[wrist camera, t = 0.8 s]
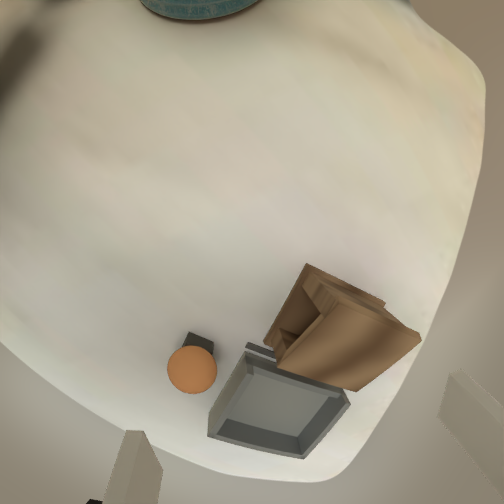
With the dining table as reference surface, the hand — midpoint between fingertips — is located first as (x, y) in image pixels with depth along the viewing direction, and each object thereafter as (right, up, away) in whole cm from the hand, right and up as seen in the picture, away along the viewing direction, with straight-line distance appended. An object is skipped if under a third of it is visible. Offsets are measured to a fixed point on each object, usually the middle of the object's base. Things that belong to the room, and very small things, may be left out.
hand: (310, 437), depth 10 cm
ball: (-8, -4, +18) cm, 21 cm away
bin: (+1, -11, +25) cm, 28 cm away
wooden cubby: (+6, 0, +23) cm, 24 cm away
